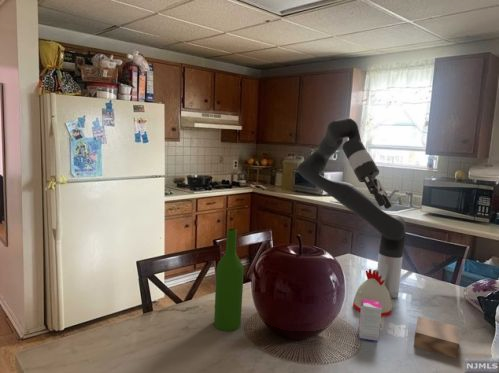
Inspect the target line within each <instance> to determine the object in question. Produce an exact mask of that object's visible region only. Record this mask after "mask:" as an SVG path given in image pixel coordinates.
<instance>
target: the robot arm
mask: <svg viewBox="0 0 499 373" xmlns="http://www.w3.org/2000/svg"><path fill="white" fill-rule="evenodd" d="M344 138H348V140H346V141H345V142H344ZM343 142H344V143H343ZM341 145H342V151H343V153H344V154H345V156H346V158H347V159H348V160H347V161H348V162H349V165H350V167H351V169H352V171H353V173H354V175H355V177H356V178H357V181H358V182H360V183H364V184H365V186H366V188H367V190H368V192H369V194H371V195H372V197H374V199H375V201H376V202H377V205H378V206H379V207H378V206H377V205H376V204H375V203H374V202H373V200H371V199H370V198H369V196H367V195H366V193H364V192H363V191H362V190H360V189H359V188H358V187H356V186H354V185H353V184H352V183H349V182H347V181H346V182H345V181H342V180H341V181H339V180H332V179H329V178H327V177H326V176H325V177H324V176H323V175H321V174H322V173H323V171H324V170H325V169H326V166H327V164H328V162H329V159H330V158H331V157H332V156H333V155H334V154H335V153H336V152H337V150H339V148H340V147H341ZM297 171H298V173H299V175H300V176H301V177H302V178H303V179H304V180H306V181H307V182H309V184H312V185H314V186H316V187H317V188H319V189H320V190H321V191H324V192H325V193H326V194H328V195H329V196H331V197H332V198H333V199H335V200H336V201H337V202H339V203H340V204H341V205H342V206H344V207H345V208H346V209H348V210H349V211H350V212H352V213H353V214H355V215H357V216H358V217H359V218H361V219H362V220H364V221H366V222H367V223H368V224H370V225H371V226H372V227H373V228H374V229H376V231H378V233H380V234H381V237H380V244H379V249H378V257H377V258H378V259H377V268H376V269H374V270H375V274H376V272H377V271H378V272H379V276H382V277H381V282H382V281H383V280H385V281H384V283H383V284H384V285H385V286H386V288H387V290H388V291H389V294H390V298H391V299H396V298H398V297H399V294H400V293H399V292H400V284H401V276H402V267H403V266H402V265H403V256H404V250H405V241H406V233H407V223H406V221H405V219H404V218H402V217H401V216H399V215H396V214H393V215H390V214H388V213H387V212H385V211H383V210H382V209H381V208H380V207H383V206H384V208H385V209H390V208H392V206H393V205H392V204H391V202H390V200H389V198H388V193H387V192H386V190H385V188H384V187H383V185H382V184H381V181H380V179H378V178H376V177H377V176H378V175H379V174H380V170H379V168H378V166H377V165H376V163H375V161H374V159H373V158H372V155H371V154H370V153H369V152H368V150H367V148H366V147H365V145H364V144H363V142H362V138H361V135H360V131H359V126H358V122H357V121H356V120H355V119H354V118H352V117H343V118H339V119H335V120H332V121H330V122H329V123H328V125H327V128H326V132H325V136H323V138H322V140H321V141H320V143H319V145H318V148H317V150H315V151H314V152H312V153H311V154H310V155H308V156H307V157H306V158H305V159H304V160H303V161H302V162H301V163H300V164H299V165H298V166H297Z"/></svg>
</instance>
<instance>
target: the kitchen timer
mask: <svg viewBox="0 0 499 373" xmlns="http://www.w3.org/2000/svg"><path fill="white" fill-rule="evenodd" d="M375 270H376V269H374V270H372V269H371V268H369V269H368V270H366V271H365V275H366V280H365V281H362V283H361V284H360V285H359V287H358V288H357V289H356V290H357V291H356V293H355V295H354V298H353V302H352V303H353V304H352V306H353V309H355V310H356V311H357V312H359V313H360V311H361V303H362V299H366V300H372V301H379V302H380V305H381V308H382V312H381V318H384V317H389V316H391V314H392V307H393V306H392V305H393V304H392V298H390V294H389V291H388V290H387V288H386V286H385V285H384V284H383V283H384V281H385V280H383V281H382V282H381V277H382V276H379V272H378V271H377V272H376V274H375Z"/></svg>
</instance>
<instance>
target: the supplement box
mask: <svg viewBox="0 0 499 373" xmlns="http://www.w3.org/2000/svg"><path fill="white" fill-rule="evenodd" d="M381 312H382V308H381V305H380V302H379V301H372V300H366V299H362V303H361V311H360V312H359V313H360V314H359V321H358V330H357V333H358V334H357V335H358V338H359V340H360V341H367V342H372V343H373V342H374V343H378V341H379V335H380V329H381V328H380V326H381V321H382V317H381Z"/></svg>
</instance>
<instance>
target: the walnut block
mask: <svg viewBox="0 0 499 373" xmlns="http://www.w3.org/2000/svg"><path fill="white" fill-rule="evenodd" d="M416 320H417V321H416V325H415V326H416V327H415V333H414V342H413V347H415V348H420V349H422V350H427V351H430V352H434V353H436V354H441V355H445V356H447V357H451V358H455V359H458V355H459V347H460V336H459V335H460V334H459V326H457V325H453V324H449V323H445V322H441V321H436V320H432V319H428V318H425V317H421V316H418V317H417V319H416Z"/></svg>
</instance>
